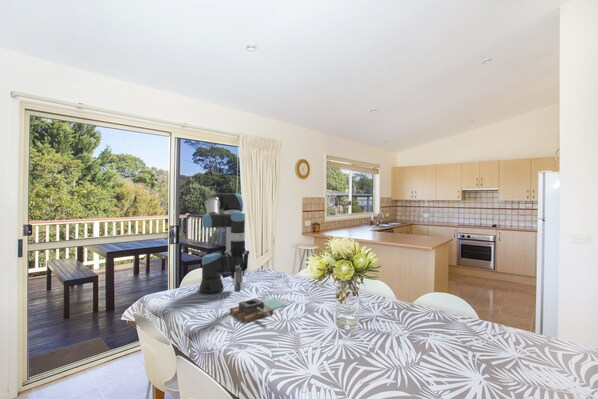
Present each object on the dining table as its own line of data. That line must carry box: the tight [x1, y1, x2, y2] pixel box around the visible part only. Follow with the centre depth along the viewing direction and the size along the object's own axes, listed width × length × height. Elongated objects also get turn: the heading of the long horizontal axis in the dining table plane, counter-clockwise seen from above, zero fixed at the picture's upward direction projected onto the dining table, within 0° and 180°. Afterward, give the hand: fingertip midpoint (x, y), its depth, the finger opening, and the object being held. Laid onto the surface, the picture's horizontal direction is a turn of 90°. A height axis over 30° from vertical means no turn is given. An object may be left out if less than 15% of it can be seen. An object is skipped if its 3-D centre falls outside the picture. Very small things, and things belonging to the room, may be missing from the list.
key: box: [233, 265, 242, 293], centre depth 161 cm, size 6×3×13 cm, turn 40°
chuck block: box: [229, 297, 274, 323], centre depth 151 cm, size 24×16×6 cm, turn 40°
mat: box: [263, 298, 287, 311], centre depth 166 cm, size 12×10×1 cm
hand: (237, 283), depth 161 cm, fingers closed on key, 3 cm apart
